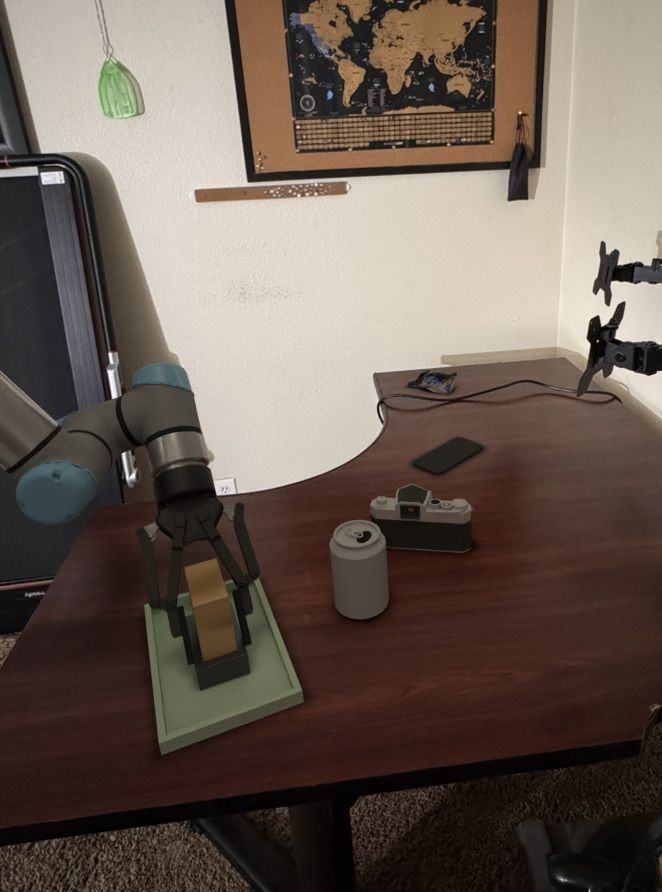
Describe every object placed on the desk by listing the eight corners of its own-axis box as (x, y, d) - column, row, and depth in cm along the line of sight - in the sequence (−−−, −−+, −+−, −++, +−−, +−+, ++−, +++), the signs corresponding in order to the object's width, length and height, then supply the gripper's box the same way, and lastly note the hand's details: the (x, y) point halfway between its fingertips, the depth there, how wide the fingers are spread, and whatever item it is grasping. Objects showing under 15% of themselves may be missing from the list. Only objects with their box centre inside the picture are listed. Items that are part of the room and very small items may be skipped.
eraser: (188, 634, 82) (174, 564, 78) (234, 620, 84) (223, 551, 80) (199, 690, 73) (184, 615, 70) (250, 672, 76) (238, 598, 72)
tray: (146, 616, 87) (144, 604, 86) (258, 583, 92) (256, 571, 92) (162, 757, 66) (158, 743, 66) (304, 704, 72) (302, 690, 71)
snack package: (415, 400, 156) (461, 393, 157) (413, 375, 154) (459, 368, 156) (405, 391, 167) (448, 385, 169) (403, 367, 166) (446, 361, 168)
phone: (409, 462, 123) (457, 435, 133) (409, 465, 124) (457, 439, 133) (438, 474, 118) (486, 445, 128) (438, 478, 119) (486, 449, 128)
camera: (474, 526, 103) (475, 472, 100) (472, 558, 95) (472, 501, 92) (379, 521, 106) (376, 468, 103) (369, 551, 98) (366, 496, 95)
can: (377, 629, 82) (373, 552, 78) (326, 617, 85) (318, 542, 81) (396, 593, 89) (393, 520, 85) (347, 583, 91) (342, 512, 87)
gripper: (250, 465, 90) (293, 631, 81) (107, 499, 83) (138, 683, 74) (254, 447, 83) (301, 625, 75) (99, 481, 76) (132, 681, 68)
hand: (220, 653), depth 75 cm, fingers closed on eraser, 6 cm apart
